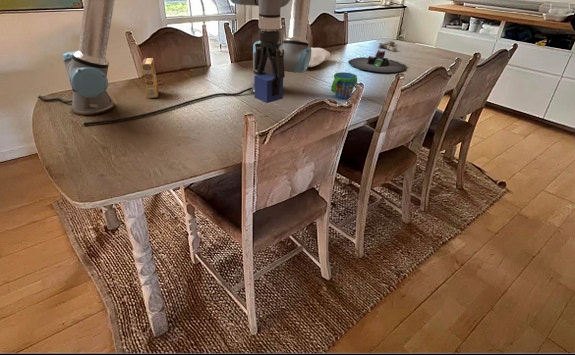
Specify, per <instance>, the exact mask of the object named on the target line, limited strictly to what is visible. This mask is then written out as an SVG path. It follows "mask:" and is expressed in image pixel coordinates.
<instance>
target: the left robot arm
mask: <svg viewBox="0 0 575 355" xmlns="http://www.w3.org/2000/svg"><path fill="white" fill-rule="evenodd" d="M115 1H116V0H84V5H83V13H82V19H81V26H80V35H79V41H78V49H77V50H75V51H74V50H73V51H68V52H65V53H63V54H62V58H63V60H62V61H63V63H64V67H65V69H66V72H67V77H68V79H69V83H70V88H71V90H72V99H70V100H65V99H63V98H61V97H53V98H45V97H44V96H43V95H40V94H39V95H38V96H37V99H41V100H43V101H45V102H52V101H53V102H54V101H61V102H62V103H65V104H69V103H72V104H71V108H72V112H73V113H74V114H76V115H81V116H95V115H101V114H103V113H107V112H109V111H111V110H112V109H113V108H114V106H115V105H114V100H113V99H112V98H111V96H110V95H109V93H108V91H107V90H108V87H109V78H108V70H109V66H110V62H109V60H108V59H107V58H106V54H107V50H108V42H109V37H110V32H111V25H112V20H113V19H112V18H113V13H114V6H115Z"/></svg>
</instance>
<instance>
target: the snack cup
mask: <svg viewBox="0 0 575 355" xmlns="http://www.w3.org/2000/svg"><path fill="white" fill-rule="evenodd" d="M333 78H334V79H333V81H332V83H331V88H330V91H331V92H332V93H335V97H337V98H339V99H345V100H347V99H350V98H351V97H350V95H351V93H352V94H353V91H354V88H356V87H355V85H356V84H357V85H358V76H357V74H354V73H352V72H345V71H343V72H342V71H339V72H336V73H334V74H333ZM351 96H352V95H351ZM349 97H350V98H349Z"/></svg>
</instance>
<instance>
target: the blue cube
mask: <svg viewBox="0 0 575 355" xmlns="http://www.w3.org/2000/svg"><path fill="white" fill-rule="evenodd" d="M273 78H274V74H273V73H266V74H262V75H257V76H254V81H255V93H254V98H255V99H256V100H258V101H261V102H263V103H265V104H269V103H272V102H276V101H279V100H284V78H281V79H280V87H279V95H276V96H272V89H273Z"/></svg>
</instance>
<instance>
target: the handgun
mask: <svg viewBox="0 0 575 355" xmlns="http://www.w3.org/2000/svg"><path fill="white" fill-rule="evenodd" d="M395 43H396V42H395V41H393V40H389V41H386V42H384V43H383V42H379V43H378V48H380V49H381V48H384V49H386V50H390V51H392V52H396V51H397V49H398V48H397V47H395V45H396V44H395Z"/></svg>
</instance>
